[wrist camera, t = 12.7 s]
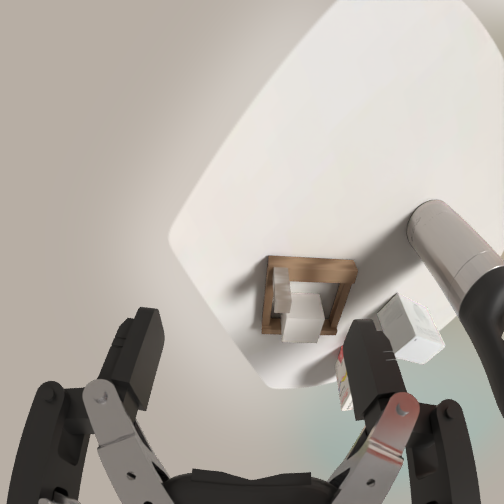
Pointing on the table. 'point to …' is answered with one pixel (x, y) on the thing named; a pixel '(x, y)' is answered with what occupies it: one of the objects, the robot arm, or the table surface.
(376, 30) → the table surface
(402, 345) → the skincare box
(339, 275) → the pull frame
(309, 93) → the table surface
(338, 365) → the ink cartridge box
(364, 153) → the table surface
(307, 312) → the white cube
